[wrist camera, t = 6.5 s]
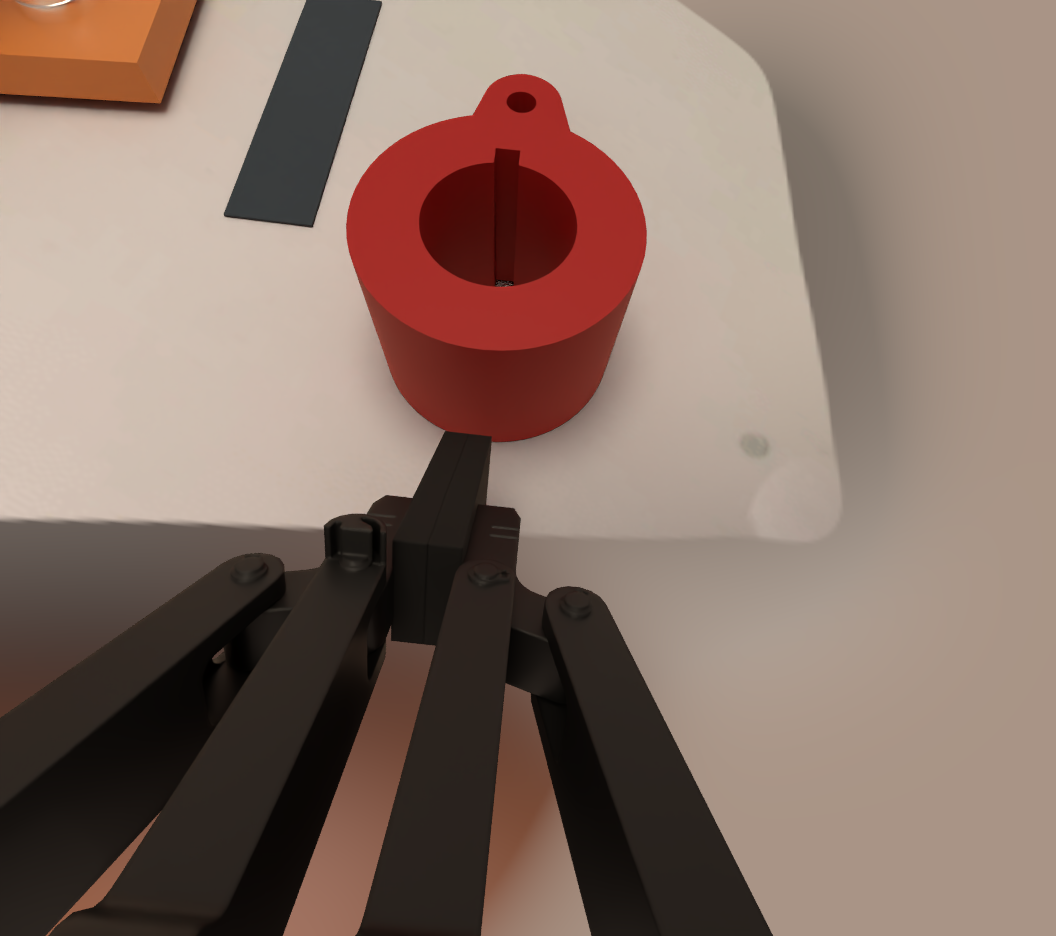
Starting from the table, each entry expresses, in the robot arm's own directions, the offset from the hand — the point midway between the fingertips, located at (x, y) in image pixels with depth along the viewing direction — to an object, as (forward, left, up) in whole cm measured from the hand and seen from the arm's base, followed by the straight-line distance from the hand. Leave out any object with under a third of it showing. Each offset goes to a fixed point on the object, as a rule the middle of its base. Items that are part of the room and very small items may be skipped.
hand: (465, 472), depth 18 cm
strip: (+11, -20, -3) cm, 23 cm away
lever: (0, -12, -4) cm, 12 cm away
